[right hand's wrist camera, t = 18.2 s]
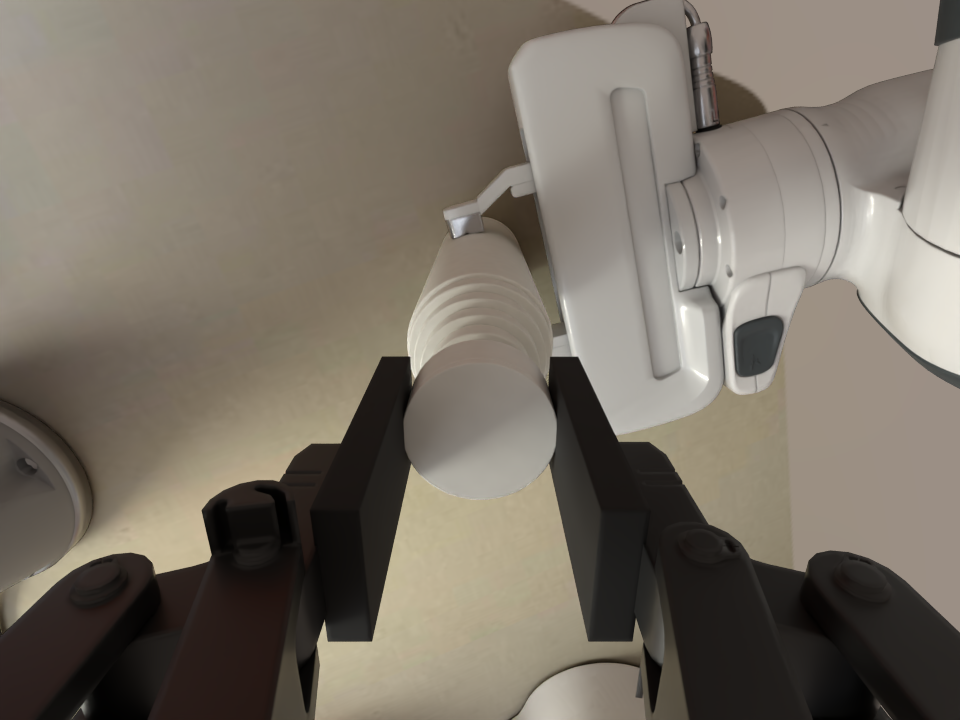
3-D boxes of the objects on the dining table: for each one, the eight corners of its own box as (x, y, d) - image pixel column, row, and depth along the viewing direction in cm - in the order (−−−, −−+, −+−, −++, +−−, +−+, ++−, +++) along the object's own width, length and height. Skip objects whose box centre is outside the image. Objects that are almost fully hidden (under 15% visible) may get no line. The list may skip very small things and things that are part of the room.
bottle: (445, 210, 33) (387, 310, 12) (527, 223, 33) (604, 343, 13) (434, 291, 35) (369, 495, 14) (513, 303, 35) (559, 520, 15)
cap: (544, 466, 15) (551, 502, 14) (411, 462, 15) (403, 497, 14) (555, 340, 14) (565, 365, 12) (409, 336, 14) (400, 359, 12)
